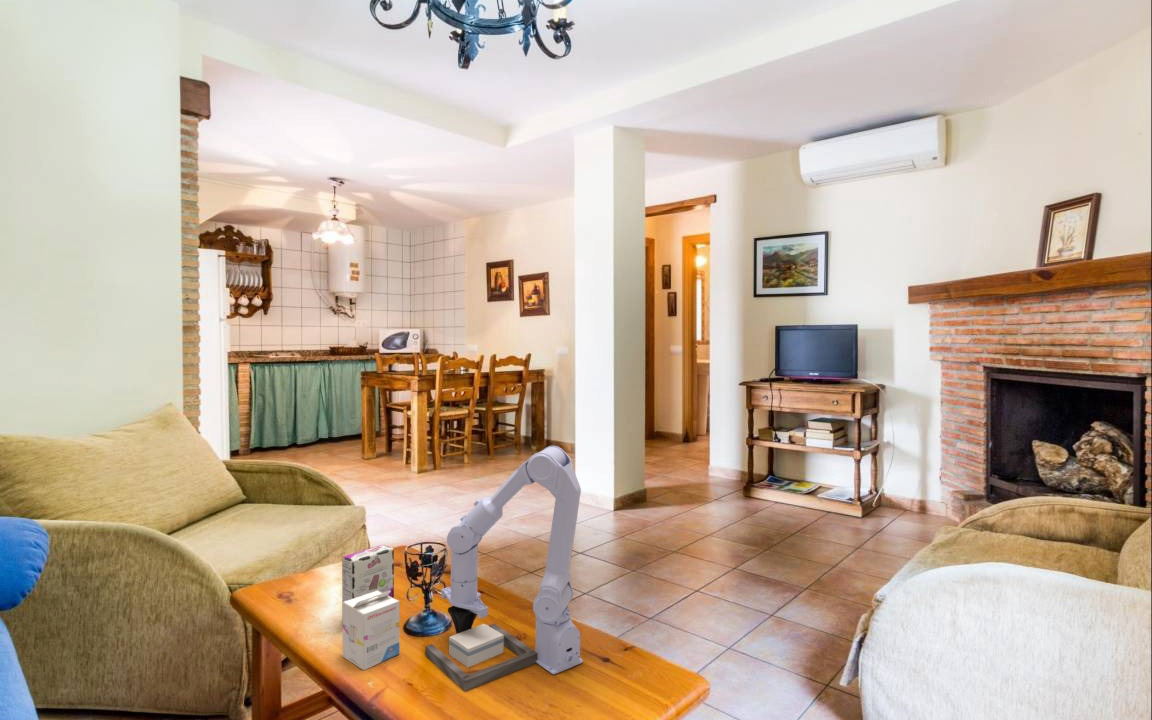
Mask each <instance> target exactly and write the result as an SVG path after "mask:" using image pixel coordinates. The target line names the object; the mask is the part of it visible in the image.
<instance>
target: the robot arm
mask: <svg viewBox="0 0 1152 720" xmlns="http://www.w3.org/2000/svg"><path fill="white" fill-rule="evenodd" d="M572 461H573V460H572V458H571V457H570V456H569V455H568V453H567V452H566V451H565V450H564V449H563V448H561V447H560V446H557V445H549V446H547V447H545V448H543V449H542V450H541V451H539V452H535V453H534V454H532V455H531V456H529V459H527V460H526V461H524V462H523V463H522V464H521V465H520V466H518V467H517V468H516V469H515V470H514V471H513V472H512V473H511V474H510V476H509V477H508V478H507V480H505V482H504V483H503V484H502V485H501V486H500V487H499V489H497V491H495V493H494V494H493V495H492V496H485V497H482V498H478V499H477V500H476V501H475V502H474V503H473V506H474V507H473V508H472V509H471V510H470V511H469V512H468V513H467V515H465V514H464V515H463V516H461V517H460V519H459V520H460V521H461V522H460V523H459V524H458V525H455V526H453V527H451V528H450V531H448V533H447V536H446V542H447V546H448V548H449V549H450V551H451V552H450V554H451V555H450V586H447V587H444V588H441V590H440V591H441V593H440V594H441V596H440V597H441V599H446V600H447V601H448V602H449V604H450V605H451V606H449V607H447V613H448V614H449V616H450V618H451V620H452V622H453V625H454V630H455V634H458V633H461V632H463V631H466V630H469V629H471V628H473V625H474V622H475V620H476V618H479V619H483V618H486V617H488V616H489V606H487V605H485V603H484V602H483V601H482V599H481V597H482V594H481V593H480V592H478V569H479V568H478V567H479V566H478V565H479V564H478V563H479V561H478V559H479V558H478V557H479V555H478V553H479V550H478V549H479V544H480V543H481V541H482V539H483V537H484V536H485V535H486V534H487V533H488V531H490V529H491V528H493V527H494V526H495V524H496V523H498V522H499V520H501V518H502V517H503V514H504V513H503V512H504V511H503V509H504V506H505V505H507V504H508V502H509V501H511V499H513V498H514V496H515V495H517V494H518V493H519V491H521V490H522V489H523V488H524V487H525V486H528V485H533V484H534V483H537V484H538V485H540V486H541V487H543V488H545V490H548V491H549V493H550V494H551V495H552V496H553V497H554V498H555V500H554V507H553V508H554V509H553V514H552V522H551V530H550V536H549V541H548V542H549V543H548V549H547V557H546V565H545V569H544V570H545V571H544V575H543V577H542V579H541V583H540V585H539V591H538V594H537V595H536V597H534V599H533V602H532V610H533V613H534V615H535V650H534V651H535V652H537V653H538V656H537V660H536V663H535V664H537V665H538V666H540V667H542V668H543V669H545V670H546V671H547V672H549V673H550V674H552V675H556V674H559V673H562V672H564V671H566V670H568V669H570V668H571V669H572V668H573V667H575V666H577V665H581V664H583V662H584V660H583V659H582V658H581V632H580V630H579V628H578V627H577V626H576V625H575V624H574V623H573V621H572V618H571V611H570V608H569V603H571V602H572V600H573V597H574V590H573V586H572V582H571V581H572V573H571V572H570V568H571V561H572V554H573V549H574V541H575V534H576V528H577V527H576V526H577V522H578V521H577V520H578V514H579V513H578V512H579V507H580V500H581V494H582V493H581V492H582V491H581V490H582V489H581V485H580V483H579V481H578V478H577V475H576V472H575V469H574V467H573V463H572Z"/></svg>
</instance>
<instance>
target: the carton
mask: <svg viewBox="0 0 1152 720" xmlns="http://www.w3.org/2000/svg"><path fill="white" fill-rule="evenodd" d="M504 647H505V645H504V635H503V634H501V633H500V632H498V631H496V630H494V629H493V628H491V627H489V624H486V623H482V624H480V625H476V626H474V627H472V628H471V629H469V630H466V631H463V632H461V633H458V634H456V633H455V634H453V635H451V636H449V638H448V655H449V656H450V657H452V658H453V659H454V660H456V661H457V662H459V663H461V664H462V665H464V666H465V667H466V668H471V667H473V666H476V665H478V664H480V663H483V662H484V661H485V662H486V661H487V660H490V659H493V658H494V657H496V656H498V655H501V654H504Z"/></svg>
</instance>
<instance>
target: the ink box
mask: <svg viewBox="0 0 1152 720" xmlns="http://www.w3.org/2000/svg"><path fill="white" fill-rule="evenodd" d="M390 592H391V590H390V591H387V592H384V593H382V592H380V591H374V592H372V593H369V594H366V595H363V596H360V597H357V598H354V599H351V600H348V601H345V602H343V623H342V657H343V658H344V659H346V660H347V661H349V662H350V663H352V664H354V665H355V666H356V667H357V668H359V669H361V670H362V671H366V670H368V669H370V668H372V667H375V666H377V665H379V664H381V663H383V662H385V661H387V660H390V659H392V658H393V657H396V656H398V655H400V617H401V616H400V613H401V612H400V608H401V607H400V606H401V605H400V604H401V603H400V602H401V601H400V600H399V599H396V598H395V597H394V598H392V597H390V596H388V594H389V593H390Z"/></svg>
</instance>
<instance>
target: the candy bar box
mask: <svg viewBox="0 0 1152 720" xmlns="http://www.w3.org/2000/svg"><path fill="white" fill-rule="evenodd" d="M394 550H395V549H394V548H393V547H391V546H387V545H385V544H380V545H377V546H374V547H373V546H372V547H370V548H366V549H363V550H360V551H357V552H354V553H351V554H347V555H344V556H342V557H341V569H342V570H341V583H342V585H341V589H342V590H341V592H342V593H341V596H342V597H341V598H342V599H341V600H342V605H341V607H342V609H341V610H342V613H341V614H342V619H341V620H342V621H341V623H342V624H343V602H345V601H348V600H351V599H354V598H357V597H360V596H363V595H366V594H369V593H372V592H374V591H380V592H382V593H384V592H387V591H390V590H391V592H390V593H389V594H388V596H390V597H392V598H394V599H395V581H394V580H395V579H394V578H395V563H394V562H395V561H394V560H395V557H394V555H395V553H394V552H395V551H394Z"/></svg>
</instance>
